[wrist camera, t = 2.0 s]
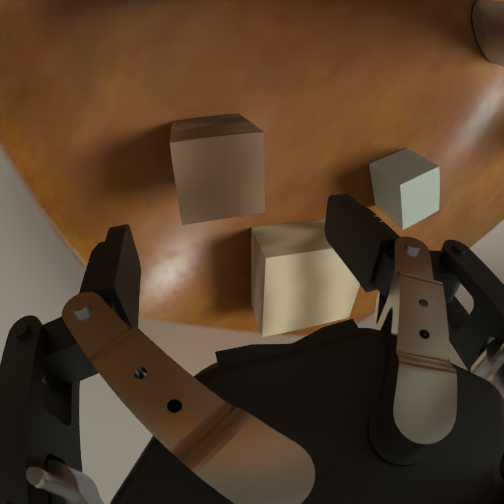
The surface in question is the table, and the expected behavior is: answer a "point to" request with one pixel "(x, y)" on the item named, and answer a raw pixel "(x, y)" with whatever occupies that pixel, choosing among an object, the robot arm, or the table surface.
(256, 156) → the walnut block
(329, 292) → the oak block
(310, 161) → the table surface
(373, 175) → the grey cube
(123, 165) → the table surface
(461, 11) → the table surface
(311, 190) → the table surface
